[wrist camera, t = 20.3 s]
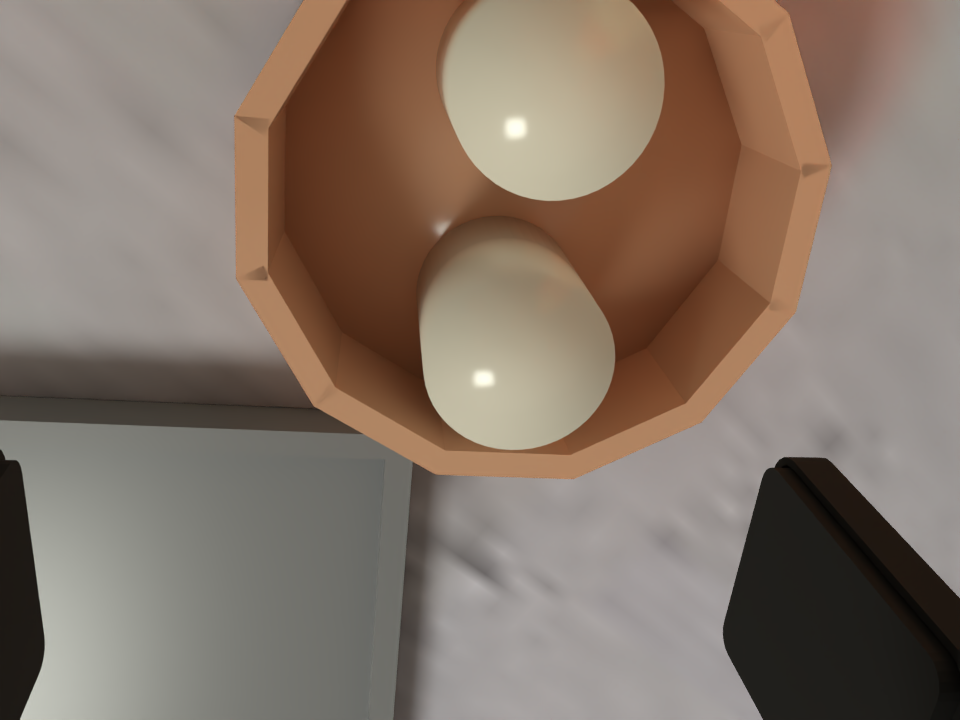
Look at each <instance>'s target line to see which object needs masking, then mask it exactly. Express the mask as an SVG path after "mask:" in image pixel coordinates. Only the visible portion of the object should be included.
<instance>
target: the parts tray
mask: <svg viewBox="0 0 960 720" xmlns="http://www.w3.org/2000/svg"><path fill="white" fill-rule="evenodd" d="M0 450H2V452H3V454H4V456H5V460H17V461H18V462H19V464H20V466H21V469H22V474H23V482H24V489H25V497H26V504H27V511H28V519H29V526H30V533H31V541H32V548H33V555H34V563H35V570H36V577H37V585H38V592H39V599H40V607H41V614H42V622H43V629H44V636H45V651H44V659H43V663H42V667H41V670H40V673H39V675H38V678H37V680H36V683H35V685H34V687H33V690H32V692H31V694H30V697H29V699H28V702H27V704H26V706H25V709H24V711H23V713H22V716H21V718H20V720H393V716H394V703H395V690H396V676H397V663H398V650H399V637H400V624H401V610H402V597H403V584H404V571H405V558H406V544H407V531H408V518H409V505H410V492H411V478H412V465H413V462H412V461H411V460H409V459H407V458H405V457H404V456H402V455H400V454H398V453H396V452H395V451H393V450H391V449H389V448H388V447H386V446H384V445H382V444H380V443H379V442H377V441H375V440H373V439H371V438H370V437H368V436H366V435H364V434H363V433H361V432H359V431H357V430H355V429H354V428H352V427H350V426H348V425H347V424H345V423H343V422H341V421H339V420H338V419H336V418H334V417H332V416H331V415H329V414H327V413H325V412H323V411H322V410H320V409H306V408H282V407H258V406H234V405H210V404H186V403H162V402H138V401H114V400H90V399H65V398H41V397H17V396H0Z"/></svg>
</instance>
